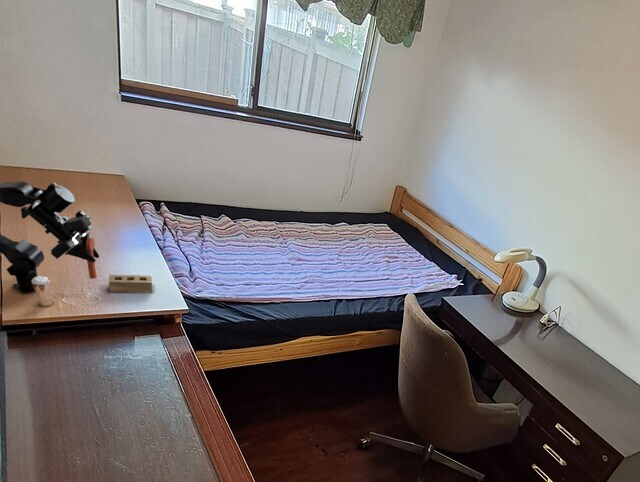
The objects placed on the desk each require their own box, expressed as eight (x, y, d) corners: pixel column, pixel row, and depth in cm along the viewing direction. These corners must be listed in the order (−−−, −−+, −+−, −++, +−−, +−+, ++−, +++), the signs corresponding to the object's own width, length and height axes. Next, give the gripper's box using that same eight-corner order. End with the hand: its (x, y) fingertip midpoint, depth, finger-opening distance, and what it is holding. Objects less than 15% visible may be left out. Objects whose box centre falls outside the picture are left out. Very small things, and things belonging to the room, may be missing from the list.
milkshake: (48, 309, 141) (42, 280, 135) (33, 304, 141) (26, 275, 136) (60, 303, 145) (54, 275, 139) (45, 298, 145) (38, 270, 139)
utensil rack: (111, 284, 159) (109, 274, 157) (152, 285, 165) (151, 275, 163) (110, 292, 156) (108, 282, 153) (152, 292, 161) (151, 282, 159)
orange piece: (88, 280, 147) (82, 239, 139) (92, 274, 150) (86, 234, 143) (94, 280, 148) (88, 240, 140) (99, 275, 151) (93, 235, 143)
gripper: (56, 216, 128) (104, 257, 136) (81, 196, 142) (123, 234, 151) (29, 238, 130) (78, 277, 139) (57, 215, 145) (100, 252, 154)
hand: (96, 259), depth 146 cm, fingers closed on orange piece, 3 cm apart
